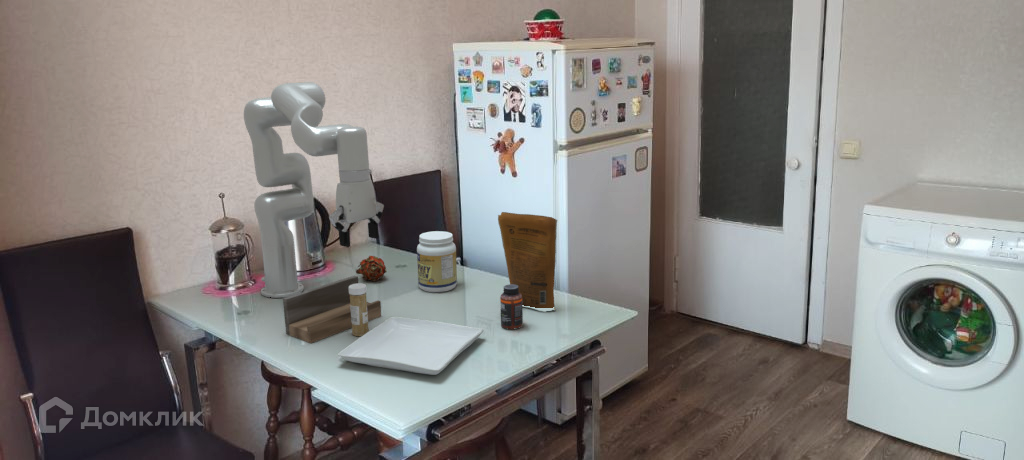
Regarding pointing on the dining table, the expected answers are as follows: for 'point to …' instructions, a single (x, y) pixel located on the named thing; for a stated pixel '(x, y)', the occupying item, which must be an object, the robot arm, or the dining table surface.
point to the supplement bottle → (511, 307)
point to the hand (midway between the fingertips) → (359, 241)
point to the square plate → (411, 345)
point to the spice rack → (323, 311)
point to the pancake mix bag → (530, 256)
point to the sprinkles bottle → (358, 309)
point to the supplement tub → (436, 261)
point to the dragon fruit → (372, 268)
